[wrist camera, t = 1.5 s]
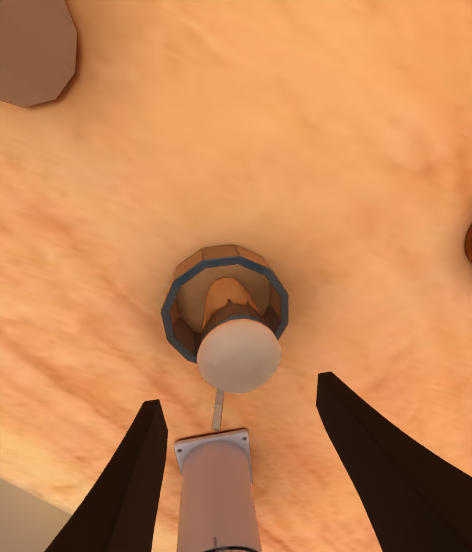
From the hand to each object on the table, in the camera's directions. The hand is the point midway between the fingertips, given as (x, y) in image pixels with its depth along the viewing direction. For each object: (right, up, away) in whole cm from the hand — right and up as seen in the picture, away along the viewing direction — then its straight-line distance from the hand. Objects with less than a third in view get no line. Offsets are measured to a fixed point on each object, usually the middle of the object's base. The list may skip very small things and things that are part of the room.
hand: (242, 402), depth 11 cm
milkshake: (-1, +4, +10) cm, 11 cm away
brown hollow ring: (-1, +4, +10) cm, 11 cm away
